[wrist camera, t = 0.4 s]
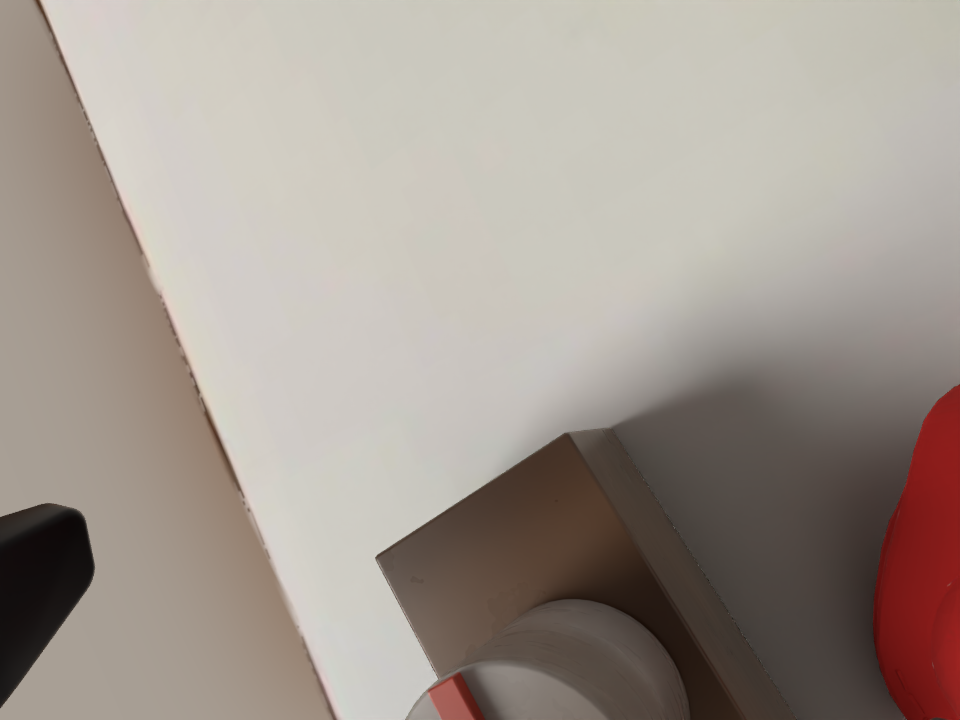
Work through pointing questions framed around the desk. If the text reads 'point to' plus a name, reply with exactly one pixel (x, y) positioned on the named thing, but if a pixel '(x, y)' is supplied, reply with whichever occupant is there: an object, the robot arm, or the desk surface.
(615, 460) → the wooden block
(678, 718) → the knob
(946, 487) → the tracker holder
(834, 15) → the desk surface
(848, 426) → the desk surface
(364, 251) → the desk surface
